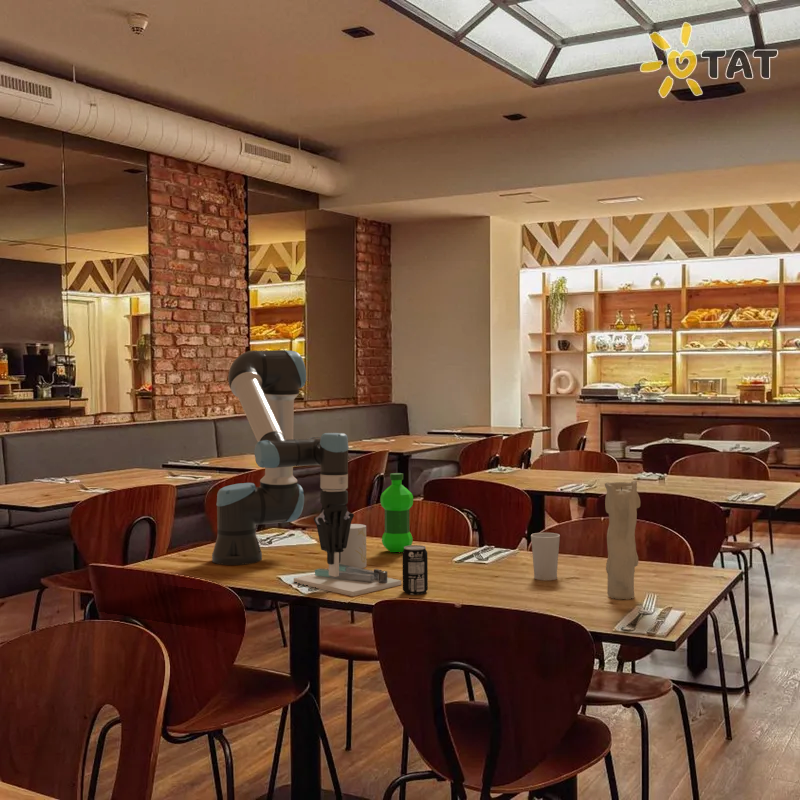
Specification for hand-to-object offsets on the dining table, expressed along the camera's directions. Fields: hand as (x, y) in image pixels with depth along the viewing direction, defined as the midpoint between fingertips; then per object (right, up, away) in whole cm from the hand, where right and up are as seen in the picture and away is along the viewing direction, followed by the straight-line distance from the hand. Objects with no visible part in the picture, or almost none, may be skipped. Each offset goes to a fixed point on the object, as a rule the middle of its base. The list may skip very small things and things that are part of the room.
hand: (333, 575), depth 268 cm
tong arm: (+3, -1, +1) cm, 3 cm away
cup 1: (+4, -2, +24) cm, 24 cm away
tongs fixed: (+7, -2, +4) cm, 8 cm away
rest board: (+4, -2, 0) cm, 4 cm away
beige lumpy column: (+75, -3, -19) cm, 77 cm away
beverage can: (+22, -3, -11) cm, 25 cm away
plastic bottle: (+17, -1, +46) cm, 49 cm away
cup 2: (+59, -2, +5) cm, 59 cm away
